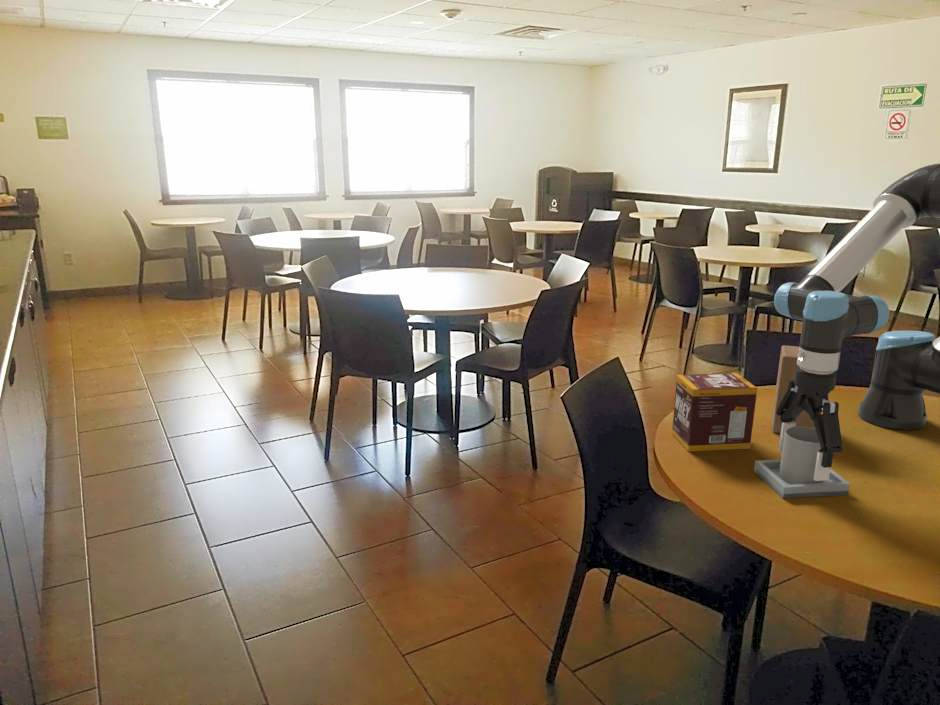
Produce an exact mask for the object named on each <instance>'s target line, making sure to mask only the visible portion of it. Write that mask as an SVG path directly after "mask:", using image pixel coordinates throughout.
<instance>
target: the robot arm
mask: <svg viewBox="0 0 940 705" xmlns="http://www.w3.org/2000/svg"><path fill="white" fill-rule="evenodd" d="M872 205H873V206H872V208H871V210H869V212H868V213H866V214H865V216H863V218H862V219H861V220H860V221H859V222H858V223H857V224H856V225H855V226H854V227H853V228H851V230H850V231H849V232H848V233H847V234H846V235H845V236H844V237H843V238H842V239H841V240H840V241H839V242H838V243H837V244H836V245H835V246H834V247H833V248H832V249H831V250H830V251H829V252H828V253H827V254H826V255H825V256H824V257H823V258H822V259H821V260H820V261H819V262H818V263H817V264H816V266H814V267H813V268H812V269H811V270H810V271H809V273H808V274H807V275H805V277H803V278H802V280H801V281H799V283H797V282H795V281H794V282H786V283H783V284H782V285H780V286H779V288H778V289H777V290H776V292H775V294H774V299H773V306H774V307H775V311H776V312H777V313H779V314H780V315H781V316H782V315H783V316H785V317H788V318H790V319H792V320H799V321H802V325H801V333H800V340H799V344H798V345H799V346H798V347H799V352H798V355H797V356H798V359H797V365H798V367H797V368H796V371H795V378H794V381H790V382H789V386H788V390H787V392H786V394H785V396H784V398H783V399H782V401H781V403H780V405H779V407H778V409H777V411H776V414H777V415H780V420H781V421H782V424H781V433H779V441H778V449H777V451H779V452H782V448H783V441H784V434H785V431H786V429H787V428H790V427H795V426H796V423H795V422H791V421H796V420H795V419H796V417H797V416H798V415H799V414H800V413H801V412H802V411H803V410H804V411H806V412H807V413H808V414H809V415H810V418H811V419H812V420H813V421H814V424H815V428H816V432H817V435H818V439H819V443H820V447H821V449H820V450H818V453H817V459H816V466H815V472H814V478H813V479H814V480H815V481H823V480H828V479H829V473H830V469H831V468H832V465H833V462H834V461H833V459H834V454H841V453H843V449H844V448H843V441H842V435H841V434H842V433H841V424H840V418H839V410H840V409H839V408H840V407H839V406H840V405H839V404H840V403H839V402H838V401H830V400H829V394H830V393H831V392H832V391H834V390H835V389H836V385H837V384H836V383H837V376H838V373H837V371H838V370H839V367H840V360H841V354H842V345H843V340H844V338H848V337H852V336H859V335H866V334H868V335H869V334H871V333H873V332H877V331H880V330H882V329H883V328H884V327H885V326H886V325H887V324H888V321H889V318H890V309H889V305H888V304H887V303H886V301H885V300H884V299H883V298H881V297H880V296H877V295H866V294H864V295H861V296H856V295H850V294H847V293H843V292H841V291H843V289H845V287H847V285H848V284H849V283H851V281H852V280H853V279H854V278H855V277H856V276H857V275H859V273H860V272H861V271H862V270H863V269H864V268H865V267H866V266H867V265H868V264H869V263H870V262H871V261H872V260H873V259H874V257H876V256H877V254H879V252H881V251H882V249H883V248H884V247H885V246H886V245H887V244H889V243H890V241H891V240H892V239H893V238H894V237H895V236H896V235H897V234H898V233H900V231H902V229H906V228H909V227H911V226H912V225H914V224H915V222H916V221H918V220H920V219H923V218H932V219H940V163H934V164H929V165H925V166H923V167H919V168H917V169H915V170H913V171H911V172H909V173H907V174H905V175H904V176H902V177H900V178H899V179H897V180H896V181H894V182H893V183H891V184H890V185H889V186H888V187H886V188H885V189H884V190H883V191H882V192H881V193H880V194H879V195H878V196H877V197H876V198H875V199H874V201H873V203H872ZM925 391H928V392H931V393H934V394H937V395H940V336H938V337H935V335H934V334H933V333H932V332H928V331H921V330H892V331H887V332H884V333H882V334H881V335H880V336H879V339H878V342H877V345H876V348H875V356H874V362H873V369H872V374H871V381H870V384H869V388H868V389H867V391H866V393H865V395H864V397H863V399H862V401H861V402H860V403H859V405H858V408H857V415H858V416H859V418H861V419H862V420H863V421H865V422H867V423H870V424H873V425H875V426H879V427H882V428H888V429H894V430H901V431H902V430H903V431H913V430H920V429H924V427H925V426H926V424H927V419H928V418H927V417H928V414H927V410H926V403H925V398H924V392H925ZM784 409H786V410H784ZM820 413H821V414H820ZM826 445H827V446H826Z"/></svg>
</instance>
